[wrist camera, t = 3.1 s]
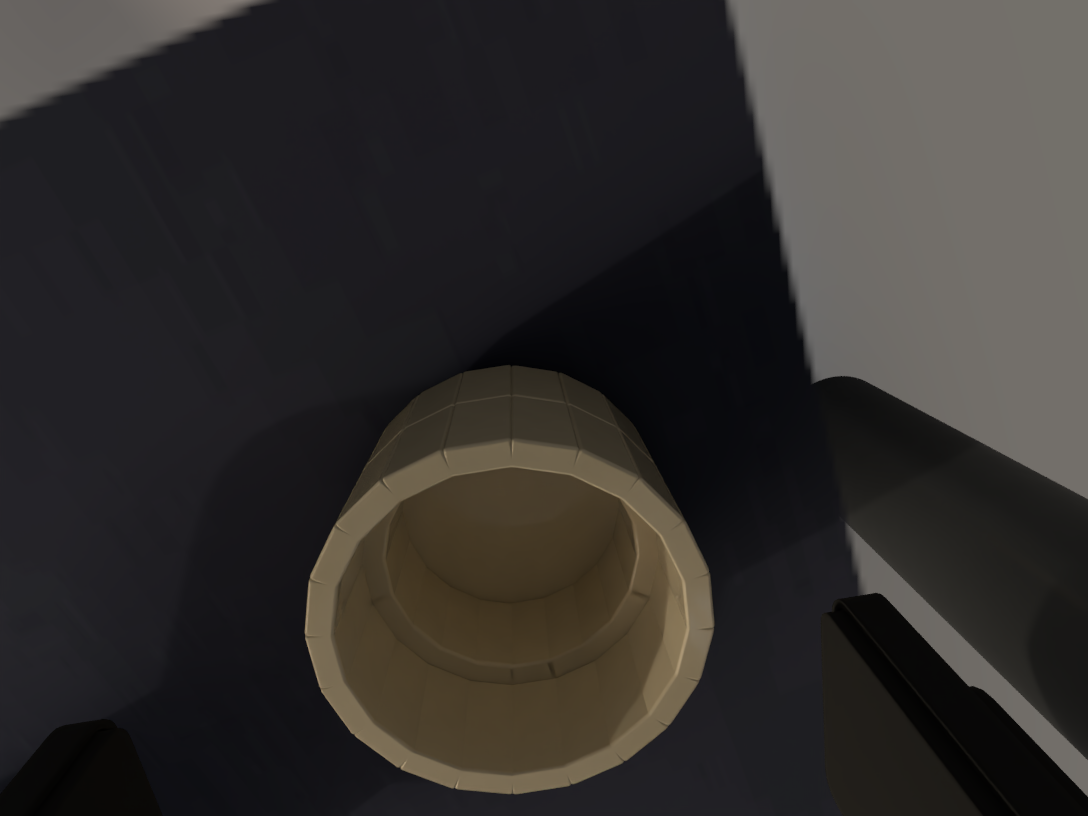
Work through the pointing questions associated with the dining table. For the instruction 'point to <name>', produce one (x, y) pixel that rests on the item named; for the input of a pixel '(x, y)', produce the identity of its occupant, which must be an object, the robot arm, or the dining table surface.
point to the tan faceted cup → (509, 588)
